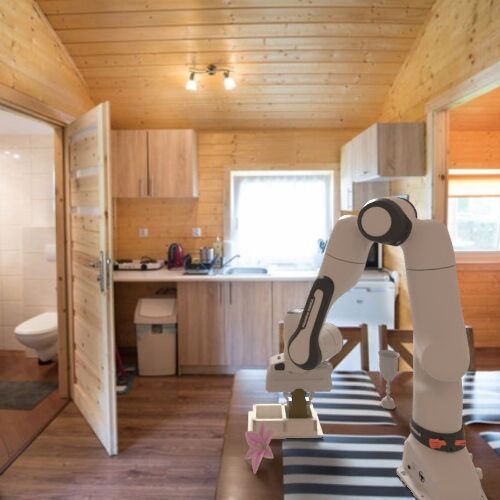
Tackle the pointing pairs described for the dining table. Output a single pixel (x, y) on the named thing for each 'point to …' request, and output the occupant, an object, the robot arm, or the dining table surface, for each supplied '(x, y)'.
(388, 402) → the chalice
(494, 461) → the dining table surface
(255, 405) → the cream divided tray
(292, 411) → the cork
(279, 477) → the dining table surface
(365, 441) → the dining table surface
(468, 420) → the dining table surface
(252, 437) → the lily
